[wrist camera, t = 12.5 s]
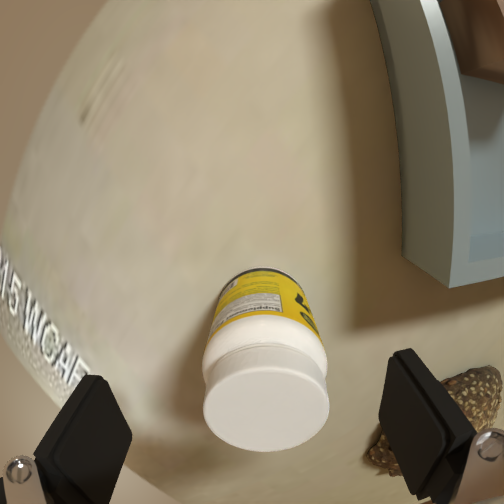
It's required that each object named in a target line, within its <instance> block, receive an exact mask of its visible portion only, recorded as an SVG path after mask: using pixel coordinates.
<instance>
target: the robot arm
mask: <svg viewBox="0 0 504 504" xmlns="http://www.w3.org/2000/svg"><path fill="white" fill-rule="evenodd" d="M379 422H380V424H381V426H382V429H383V431H384V433H385V435H386V438H387V440H388V442H389V444H390V447H391V449H392V451H393V454H394V456H395V458H396V460H397V463H398V465H399V467H400V470H401V472H402V475H403V477H404V479H405V482H406V484H407V487H408V489H409V491H410V493H411V494H412V495H415V494H416V496H417V499H418V501H419V500H422V499H424V498H427V497H429V496H430V498H431V500H432V502H433V503H434V504H504V431H503V430H501V429H497V428H488V429H484V430H482V431H480V432H479V433H477V431H476V430H475V428H474V427H473V426H472V424H471V423H470V421H469V420H468V419H467V417H466V416H465V414H464V413H463V412H462V410H461V409H460V408H459V406H458V405H457V403H456V402H455V401H454V399H453V398H452V397H451V395H450V394H449V393H448V391H447V390H446V389H445V387H444V386H443V385H442V384H441V383H440V382H439V381H438V380H436V378H435V377H434V376H433V374H432V373H431V372H430V371H429V369H428V368H427V367H426V365H425V364H424V363H423V362H422V360H421V359H420V358H419V357H418V355H417V354H416V353H415V351H414V350H413V349H412V348H408V349H404V350H400V351H396V352H394V354H393V357H390V358H389V360H388V366H387V373H386V378H385V384H384V390H383V395H382V400H381V405H380V409H379ZM131 441H132V432H131V430H130V428H129V426H128V424H127V422H126V420H125V418H124V416H123V414H122V412H121V410H120V408H119V406H118V404H117V402H116V399H115V397H114V395H113V393H112V391H111V388H110V386H109V384H108V382H107V381H106V380H104V379H103V377H102V376H99V375H85V376H84V377H83V378H82V380H81V381H80V382H79V384H78V385H77V387H76V388H75V390H74V391H73V393H72V394H71V396H70V397H69V399H68V400H67V402H66V403H65V405H64V406H63V408H62V409H61V411H60V412H59V414H58V415H57V417H56V418H55V420H54V421H53V423H52V424H51V426H50V428H49V429H48V431H47V432H46V434H45V436H44V437H43V439H42V440H41V442H40V443H39V445H38V447H37V448H36V450H35V452H34V456H35V457H36V458H35V460H34V461H33V460H32V458H30V457H28V456H23V455H21V456H16V457H14V458H12V459H11V460H9V461H8V462H7V463H6V465H5V466H4V469H3V477H1V478H0V504H109V502H110V499H111V496H112V493H113V490H114V488H115V484H116V482H117V479H118V477H119V474H120V471H121V468H122V465H123V463H124V460H125V457H126V455H127V452H128V449H129V446H130V444H131Z"/></svg>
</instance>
